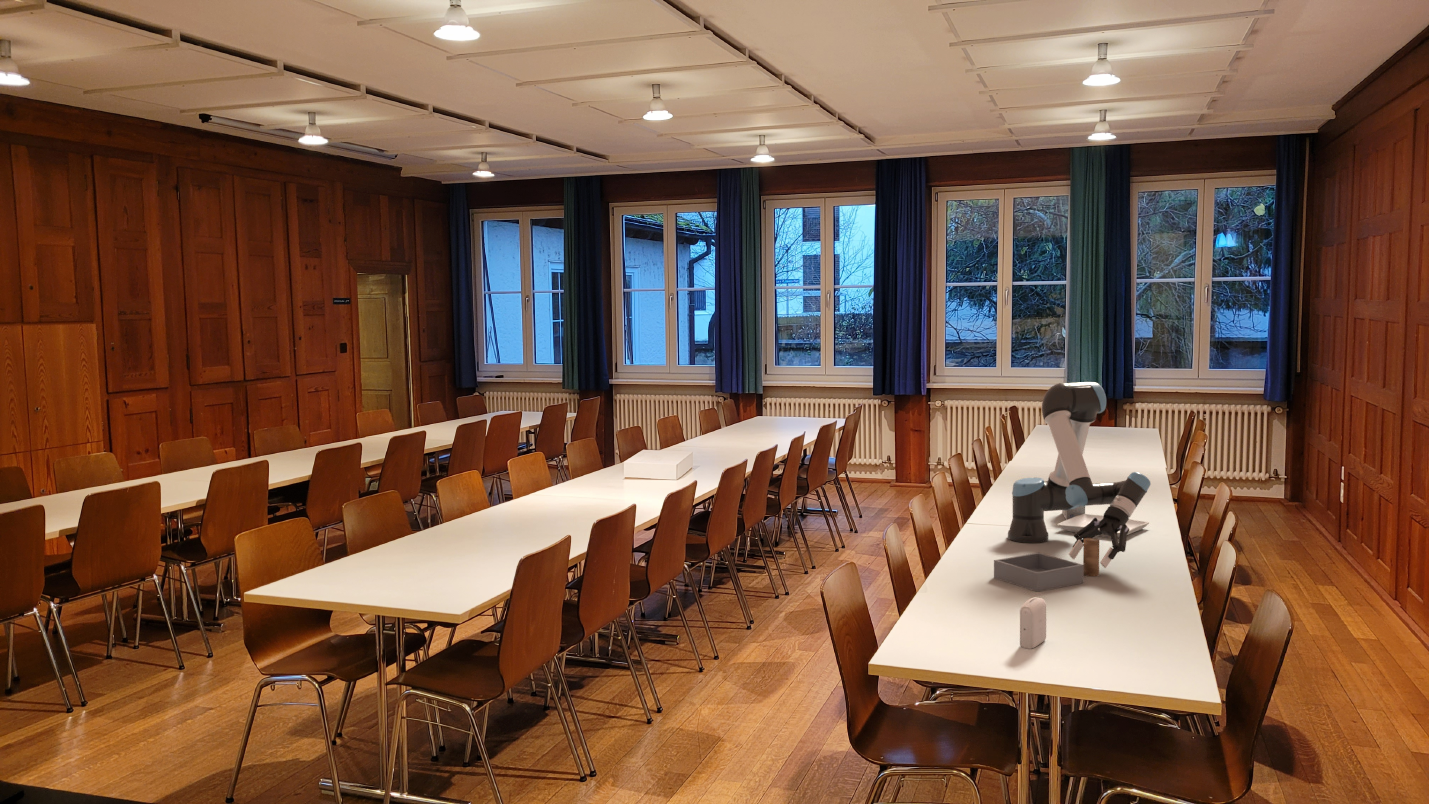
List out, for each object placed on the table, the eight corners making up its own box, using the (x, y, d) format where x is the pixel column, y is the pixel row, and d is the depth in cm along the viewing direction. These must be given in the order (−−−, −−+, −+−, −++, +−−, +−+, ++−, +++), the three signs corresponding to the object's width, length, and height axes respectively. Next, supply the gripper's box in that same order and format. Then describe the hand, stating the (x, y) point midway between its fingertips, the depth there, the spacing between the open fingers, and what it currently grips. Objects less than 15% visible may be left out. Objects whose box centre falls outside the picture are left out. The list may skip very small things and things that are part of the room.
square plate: (1124, 542, 390) (1124, 532, 390) (1055, 533, 409) (1055, 523, 409) (1150, 529, 410) (1150, 520, 410) (1083, 521, 429) (1083, 512, 428)
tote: (993, 577, 344) (993, 560, 343) (1038, 569, 353) (1038, 552, 352) (1037, 591, 326) (1037, 573, 325) (1083, 582, 335) (1083, 564, 334)
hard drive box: (1085, 520, 428) (1086, 473, 426) (1066, 520, 430) (1066, 473, 428) (1080, 513, 443) (1080, 467, 441) (1061, 513, 445) (1061, 467, 443)
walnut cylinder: (1079, 573, 346) (1080, 539, 345) (1090, 571, 348) (1091, 537, 347) (1091, 577, 342) (1091, 541, 340) (1102, 575, 344) (1102, 540, 343)
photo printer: (1033, 650, 272) (1033, 604, 271) (1017, 647, 275) (1017, 602, 274) (1048, 640, 280) (1048, 595, 279) (1033, 637, 283) (1033, 593, 282)
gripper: (1085, 499, 358) (1053, 547, 353) (1144, 511, 336) (1111, 562, 331) (1095, 512, 361) (1064, 560, 356) (1155, 525, 339) (1122, 575, 334)
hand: (1086, 561), depth 343 cm, fingers open, 13 cm apart
